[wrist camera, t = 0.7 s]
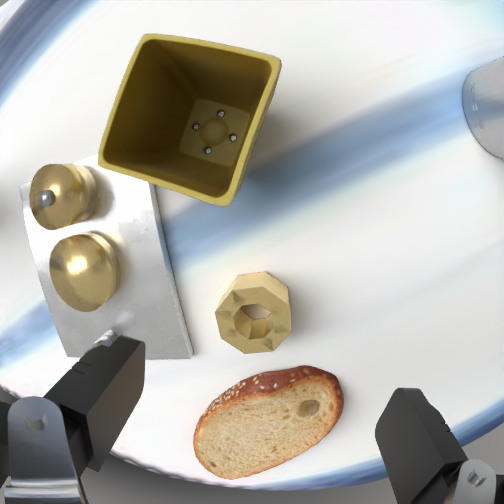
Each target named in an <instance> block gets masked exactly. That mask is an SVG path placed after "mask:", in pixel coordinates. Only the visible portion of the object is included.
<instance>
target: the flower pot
mask: <svg viewBox="0 0 504 504" xmlns="http://www.w3.org/2000/svg"><path fill="white" fill-rule="evenodd" d="M281 67H282V64H281V60H280V59H279V58H277V57H275V56H272V55H269V54H265V53H260V52H257V51H253V50H248V49H244V48H240V47H235V46H230V45H225V44H220V43H215V42H210V41H204V40H199V39H193V38H186V37H179V36H173V35H164V34H144V35H143V36H142V38H141V39H140V41H139V43H138V44H137V46H136V49H135V51H134V53H133V55H132V57H131V59H130V62H129V64H128V67H127V69H126V72H125V74H124V77H123V79H122V82H121V84H120V87H119V89H118V92H117V95H116V98H115V101H114V104H113V107H112V110H111V112H110V115H109V118H108V121H107V125H106V128H105V131H104V134H103V137H102V140H101V144H100V148H99V153H98V158H97V165H98V166H99V167H101V168H103V169H106V170H110V171H113V172H116V173H119V174H123V175H127V176H130V177H133V178H136V179H139V180H143V181H146V182H149V183H152V184H155V185H158V186H161V187H164V188H167V189H170V190H173V191H177V192H179V193H182V194H185V195H188V196H190V197H193V198H196V199H199V200H202V201H205V202H207V203H211V204H214V205H217V206H222V207H225V206H229V205H230V204H231V203H232V201H233V199H234V197H235V196H236V194H237V192H238V190H239V188H240V186H241V183H242V180H243V177H244V173H245V170H246V167H247V164H248V161H249V158H250V155H251V153H252V150H253V147H254V144H255V141H256V139H257V136H258V133H259V131H260V128H261V125H262V123H263V120H264V118H265V115H266V112H267V110H268V107H269V105H270V102H271V100H272V97H273V95H274V91H275V88H276V84H277V81H278V77H279V74H280V71H281ZM219 111H224V116H223V117H219V116H218V112H219ZM194 124H199V129H198V130H194V129H193V125H194ZM232 134H235V135H236V137H237V138H236V140H235V141H231V140H230V138H229V137H230V135H232ZM206 147H210V148H211V153H209V154H207V153H205V148H206Z"/></svg>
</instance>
